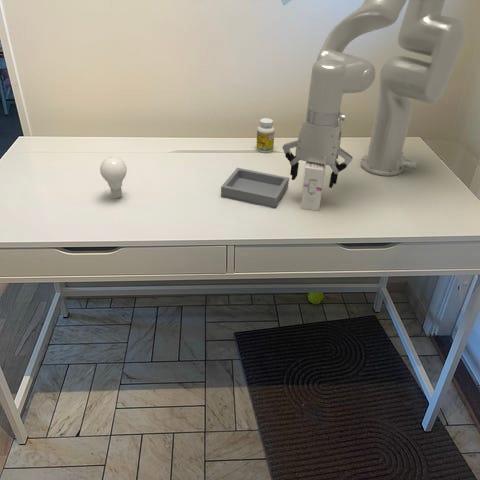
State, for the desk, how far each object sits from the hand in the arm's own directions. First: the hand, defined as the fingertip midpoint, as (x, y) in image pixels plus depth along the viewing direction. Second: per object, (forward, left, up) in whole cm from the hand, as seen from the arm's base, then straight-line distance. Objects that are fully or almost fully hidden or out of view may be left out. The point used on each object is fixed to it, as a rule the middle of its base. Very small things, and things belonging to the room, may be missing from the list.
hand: (312, 181), depth 120 cm
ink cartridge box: (0, 0, -6) cm, 6 cm away
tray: (+15, +1, -6) cm, 16 cm away
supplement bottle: (+21, -26, -6) cm, 34 cm away
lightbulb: (+47, +18, -6) cm, 50 cm away
